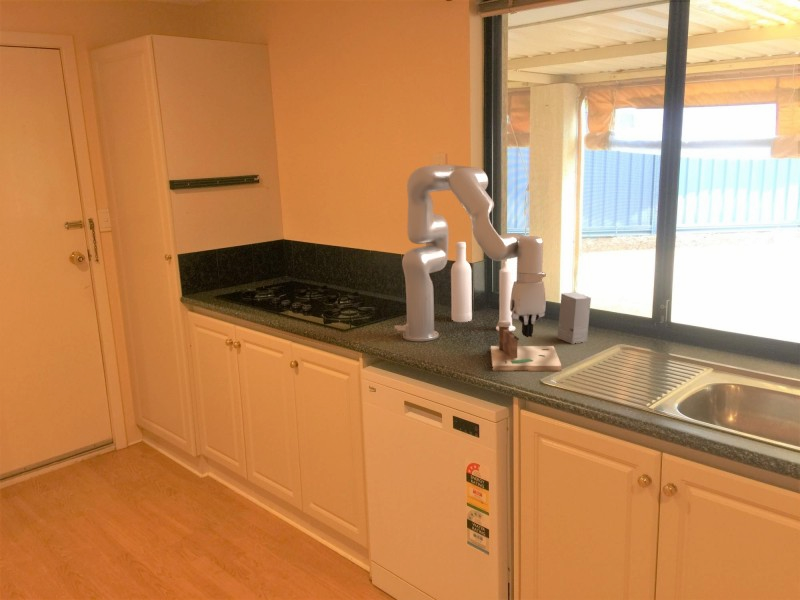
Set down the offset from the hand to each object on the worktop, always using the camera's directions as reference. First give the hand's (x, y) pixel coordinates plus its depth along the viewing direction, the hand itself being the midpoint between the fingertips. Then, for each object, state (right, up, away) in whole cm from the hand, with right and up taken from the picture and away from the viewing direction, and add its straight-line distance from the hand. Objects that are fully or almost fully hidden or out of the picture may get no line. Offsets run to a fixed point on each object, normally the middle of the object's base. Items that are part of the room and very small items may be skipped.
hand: (527, 335), depth 208 cm
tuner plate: (-1, -8, +1) cm, 8 cm away
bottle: (-16, +3, +51) cm, 54 cm away
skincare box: (+19, -3, +20) cm, 28 cm away
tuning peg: (-5, -6, +1) cm, 8 cm away
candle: (-1, 0, +36) cm, 36 cm away
